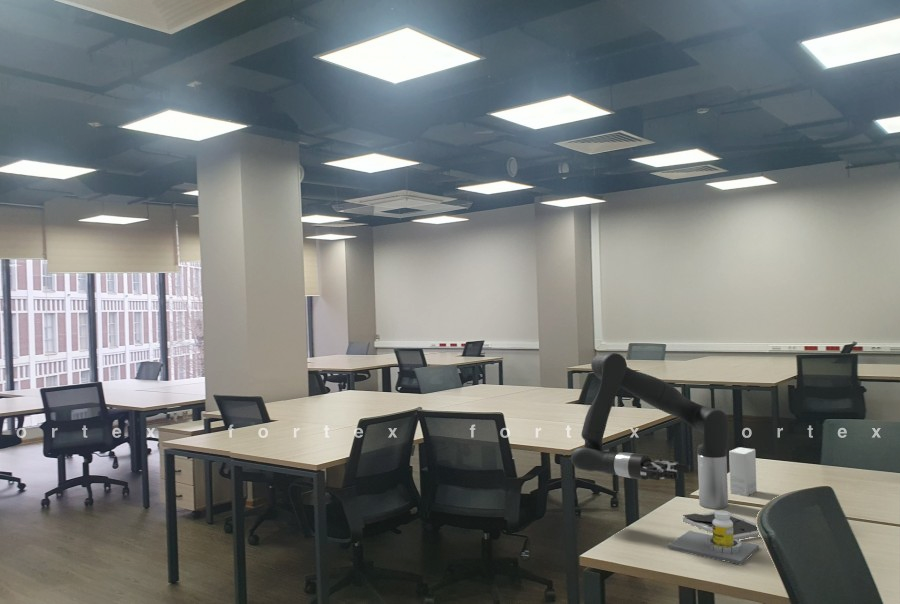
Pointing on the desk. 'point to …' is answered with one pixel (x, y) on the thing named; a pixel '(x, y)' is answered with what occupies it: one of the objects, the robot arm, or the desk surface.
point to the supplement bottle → (722, 529)
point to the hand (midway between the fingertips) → (683, 472)
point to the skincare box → (742, 471)
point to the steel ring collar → (724, 549)
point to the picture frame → (740, 525)
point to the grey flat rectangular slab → (697, 545)
